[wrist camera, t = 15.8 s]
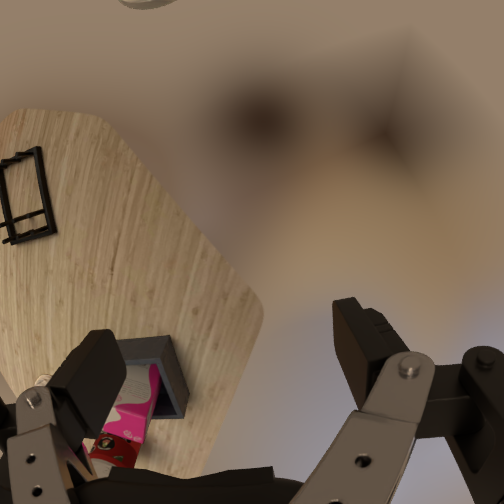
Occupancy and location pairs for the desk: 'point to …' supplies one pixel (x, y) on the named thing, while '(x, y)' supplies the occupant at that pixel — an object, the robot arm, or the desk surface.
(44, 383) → the cream coiled cloth
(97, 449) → the canned food
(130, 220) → the desk surface
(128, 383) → the supplement box
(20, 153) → the dish rack
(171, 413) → the dark grey storage bin
